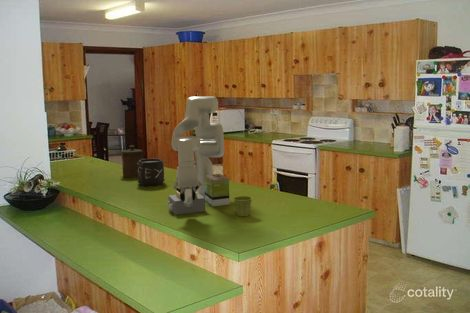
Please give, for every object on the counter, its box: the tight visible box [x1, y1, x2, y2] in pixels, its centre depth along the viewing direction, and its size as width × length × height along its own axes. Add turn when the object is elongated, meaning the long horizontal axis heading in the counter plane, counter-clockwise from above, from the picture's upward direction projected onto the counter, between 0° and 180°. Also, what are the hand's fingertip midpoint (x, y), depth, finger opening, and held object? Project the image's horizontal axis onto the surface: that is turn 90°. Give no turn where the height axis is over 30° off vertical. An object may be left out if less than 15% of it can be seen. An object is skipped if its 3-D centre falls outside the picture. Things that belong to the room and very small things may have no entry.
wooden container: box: [121, 144, 144, 178], centre depth 359 cm, size 15×15×22 cm
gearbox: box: [166, 190, 206, 216], centre depth 261 cm, size 18×14×10 cm
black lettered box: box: [137, 158, 165, 188], centre depth 328 cm, size 18×18×16 cm
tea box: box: [204, 173, 231, 207], centre depth 275 cm, size 15×10×15 cm, turn 21°
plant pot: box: [233, 195, 253, 217], centre depth 248 cm, size 9×9×9 cm
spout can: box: [183, 187, 193, 207], centre depth 247 cm, size 5×5×10 cm
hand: (188, 199), depth 247 cm, fingers closed on spout can, 4 cm apart
